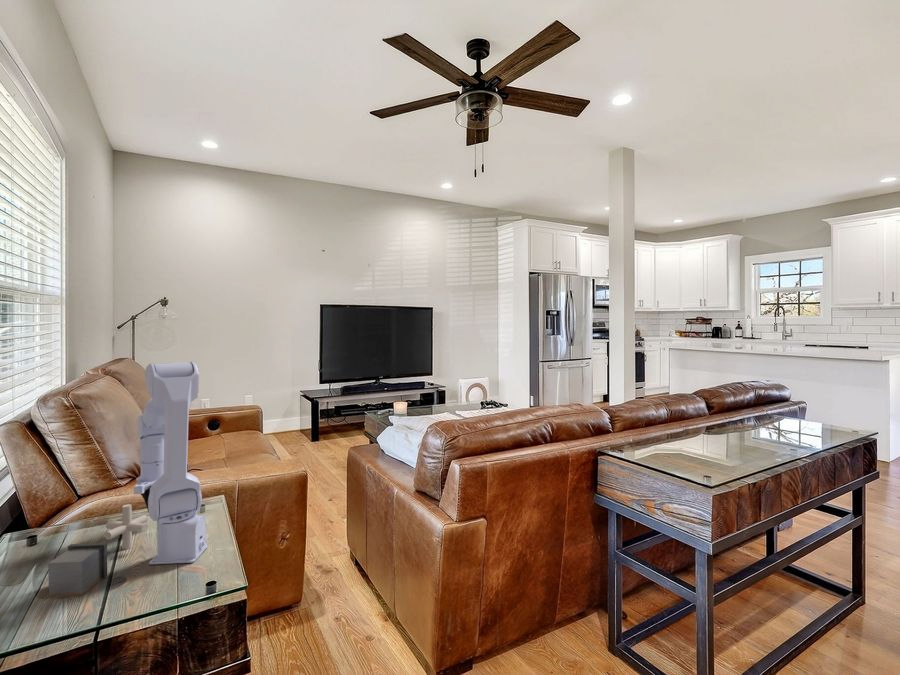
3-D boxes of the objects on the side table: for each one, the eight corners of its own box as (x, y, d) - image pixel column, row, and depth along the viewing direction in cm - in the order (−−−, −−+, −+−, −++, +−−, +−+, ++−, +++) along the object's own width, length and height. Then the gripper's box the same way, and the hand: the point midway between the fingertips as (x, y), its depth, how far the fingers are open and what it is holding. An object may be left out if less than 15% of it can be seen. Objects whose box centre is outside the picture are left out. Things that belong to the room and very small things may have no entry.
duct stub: (71, 578, 98) (71, 544, 98) (107, 576, 99) (106, 542, 99) (46, 597, 91) (45, 560, 91) (84, 595, 92) (84, 558, 92)
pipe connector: (126, 559, 106) (126, 515, 106) (90, 555, 108) (89, 512, 108) (162, 540, 116) (161, 499, 116) (127, 536, 118) (127, 496, 118)
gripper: (152, 453, 131) (152, 502, 131) (120, 469, 116) (121, 523, 116) (178, 452, 131) (179, 501, 131) (150, 468, 117) (151, 522, 117)
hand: (154, 511), depth 124 cm, fingers closed
